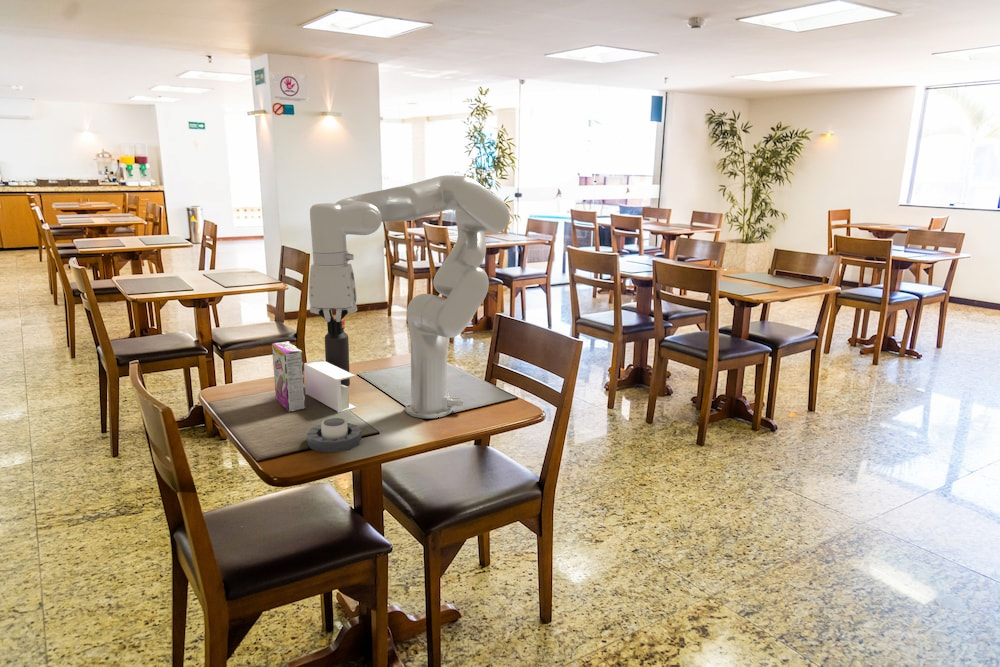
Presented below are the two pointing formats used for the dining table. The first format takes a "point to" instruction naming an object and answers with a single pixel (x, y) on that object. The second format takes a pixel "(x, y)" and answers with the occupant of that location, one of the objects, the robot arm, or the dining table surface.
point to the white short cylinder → (334, 428)
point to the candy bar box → (288, 375)
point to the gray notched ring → (334, 440)
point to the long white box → (327, 384)
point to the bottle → (338, 352)
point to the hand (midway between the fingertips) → (335, 337)
